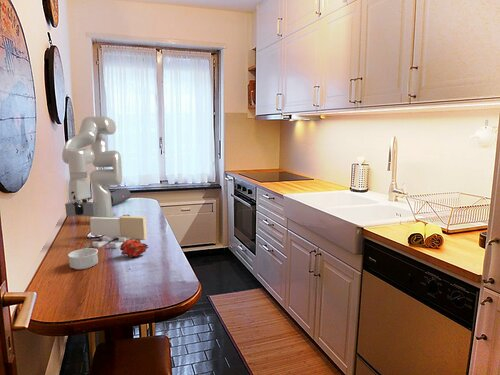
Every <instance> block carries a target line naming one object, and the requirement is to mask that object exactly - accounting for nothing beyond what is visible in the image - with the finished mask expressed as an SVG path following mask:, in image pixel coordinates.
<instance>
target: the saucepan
mask: <svg viewBox="0 0 500 375" xmlns="http://www.w3.org/2000/svg"><path fill="white" fill-rule="evenodd" d="M90 244H91V243H90V241H87V242H86V244H85V247H84V248H80V249H79V248H78V249H76V250H73V251H70V252H68V254H67V257H68V261H69V267H70V268H72V269H74V270H86V269H90V268H93V267H94V266H95V265H97V264H98V263H99V257H98V252H99V250H98V248H95V247H91V248H89V246H90ZM92 266H93V267H92Z"/></svg>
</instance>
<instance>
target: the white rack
mask: <svg viewBox="0 0 500 375" xmlns="http://www.w3.org/2000/svg"><path fill="white" fill-rule="evenodd" d="M121 216H122V217H121ZM121 216H119V217H120V218H119V217H113V218H101V217H95V216H90V218H89V223H90V234H91V235H105V236H109V237H101V238H102V241H92V248H96V249H98V248H101V247H102V246H104V245H106V244H108V243H109V249H117V248H120V247H121V245H122V244H123V242H125V241H126V240H130V239H131V240H132V239H134V240H136V239H137V240H141V239H142V241H143V240H146V239H148V229H147V217H146V216H137V215H136V216H134V215H133V216H131V215H130V216H123V215H121ZM115 239H118V242H113V240H115Z"/></svg>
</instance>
